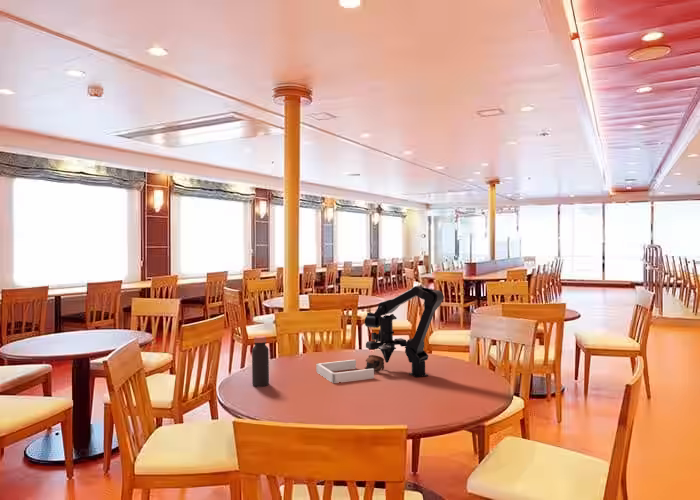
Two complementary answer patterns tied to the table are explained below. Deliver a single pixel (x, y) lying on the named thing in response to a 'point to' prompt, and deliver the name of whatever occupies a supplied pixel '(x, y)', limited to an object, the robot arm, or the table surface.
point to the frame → (328, 367)
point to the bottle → (260, 362)
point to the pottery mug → (375, 363)
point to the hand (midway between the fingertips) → (386, 362)
